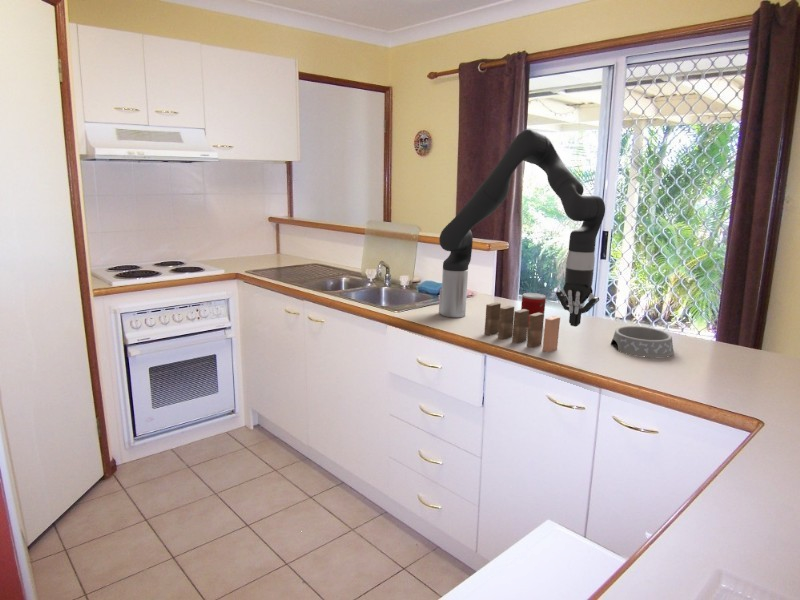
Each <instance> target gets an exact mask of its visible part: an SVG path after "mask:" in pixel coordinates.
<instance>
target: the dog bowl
mask: <svg viewBox="0 0 800 600" xmlns="http://www.w3.org/2000/svg"><path fill="white" fill-rule="evenodd" d="M613 342H616V344H617V351H618V352H620V351H621V353H622V352H624V353H623V354H626V353H627V354H626V355H629V354H631V355H630V356H634V355H637V356H636V357H639V356H645V357H644V358H646V357H666V358H668V357H667V356H670V357H672V356H673V355H674V354H675V353H674V352H675V351H674V345H673V336H672V335H671V334H670V333H668V332H667V331H664V330H661V329H656V328H653V327H648V326H639V325H637V326H636V325H628V326H627V325H626V326H620V327H617V328H616V329H615V331H614V334H613V337H612V339H611V342H610V344H612V343H613ZM673 353H674V354H673ZM671 355H672V356H671Z"/></svg>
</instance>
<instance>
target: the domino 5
mask: <svg viewBox="0 0 800 600" xmlns="http://www.w3.org/2000/svg"><path fill="white" fill-rule="evenodd" d="M544 319H545V320H544V328H543V330H544V331H543V332H544V333H543V338H542V341H543V342H542V351H543V352H547V353H549V352H553V351H555V350H558V343H559V336H560V335H559V334H560V333H559V332H560V323H561V317H560V316H557V315H554V316H553V315H552V316H550V317H546V318H544Z"/></svg>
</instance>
